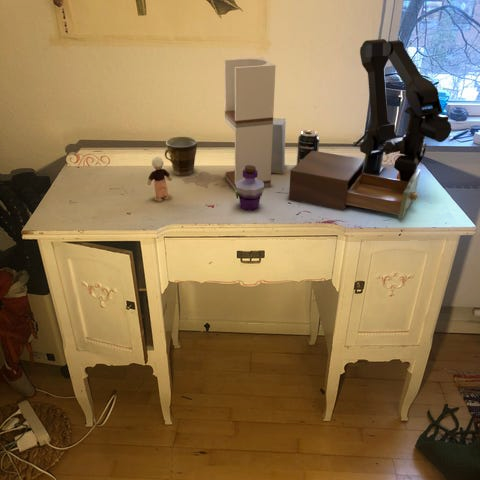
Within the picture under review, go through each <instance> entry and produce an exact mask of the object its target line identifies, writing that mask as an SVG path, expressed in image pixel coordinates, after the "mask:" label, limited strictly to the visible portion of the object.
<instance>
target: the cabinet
mask: <svg viewBox="0 0 480 480" xmlns="http://www.w3.org/2000/svg"><path fill="white" fill-rule="evenodd" d="M364 162H365V158H360V157H354V156H348V155H344V154H343V155H342V154H335V153H330V152H323V151H319V150H318V151H311V152H310V153H309V154H308V155H307V156H306V157H305V158H304V159H302V160H301V161H300V162H299V163H298V164H297V163H296V165H295V166H294V167H293V168H292V169H290V174H289V177H290V178H289V187H288V188H289V191H288V200H289V201H295V202H300V203H304V204H310V205H315V206H321V207H325V208H329V209H334V210H340V211H345V209H346V208H347V207H348V205H346V204H345V202H346V195H347V191H348V190H349V189H350V187H351V186H352V185H353V183H354V182H355V181H356V180H357V178H358V177H359V176H360V174H361V173H362V174H364V172H363V169H364Z"/></svg>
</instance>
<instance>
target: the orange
mask: <svg viewBox="0 0 480 480" xmlns="http://www.w3.org/2000/svg"><path fill="white" fill-rule="evenodd" d="M414 173H415V172H414ZM413 175H414V174H413ZM411 178H412V177H411ZM395 179H397V180H400V172H399V171H398V173H397V175H396V177H395ZM410 180H411V179H410ZM410 180H409V182H410Z"/></svg>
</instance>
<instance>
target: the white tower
mask: <svg viewBox="0 0 480 480" xmlns="http://www.w3.org/2000/svg"><path fill="white" fill-rule="evenodd" d="M223 63H224V66H223V69H224V72H223V74H224V75H223V76H224V123H225V124H226V125H227V126H228V127H230V129H231V130H232V131H233V132H234V170H230V171H225V179H226V181H227V182H228V183H229V185H230V186H231V187H232V188H233V190H234V191H235V192H236V182H237V181H239V180H242V179H245V178H244V177H243V170H245V166H247V165H252V166H255V167H256V170H257V177H256V178H255V179H257V180H260V181H262V182H264V188H269V187H271V182H272V181H271V179H272V173H271V158H272V135H273V118H274V109H275V88H276V87H275V85H276V64H274V63H272V62H271V61H269V60H267V59H266V58H264V57H250V58H249V57H248V58H247V57H246V58H233V59H231V58H230V59H224V60H223Z"/></svg>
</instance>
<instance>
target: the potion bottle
mask: <svg viewBox="0 0 480 480" xmlns="http://www.w3.org/2000/svg"><path fill="white" fill-rule="evenodd" d="M243 177H244V178H245V179H242V180H239V181H237V182H236V191H235V197H236V199H237V200H239V204H240V205H239V207H240V209H241V210H244V211H247V212H249V211H252V212H254V211H256V210H258V209H259V206H260V201H261V197H263V192H264V188H265V187H264V182H262V181H260V180H257V179H255V178H256V177H257V170H256V167H255V166H252V165H247V166H245V170H243Z"/></svg>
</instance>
